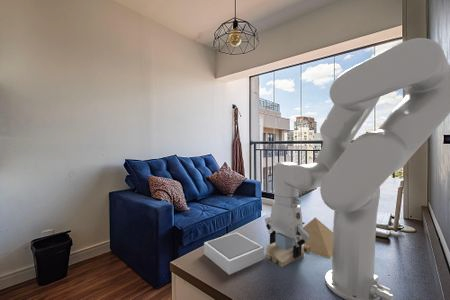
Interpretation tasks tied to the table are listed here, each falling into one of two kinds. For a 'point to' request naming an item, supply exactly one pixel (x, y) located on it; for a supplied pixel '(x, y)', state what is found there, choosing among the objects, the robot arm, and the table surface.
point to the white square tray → (233, 252)
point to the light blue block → (283, 241)
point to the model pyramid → (318, 238)
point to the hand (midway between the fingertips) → (284, 250)
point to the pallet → (281, 254)
